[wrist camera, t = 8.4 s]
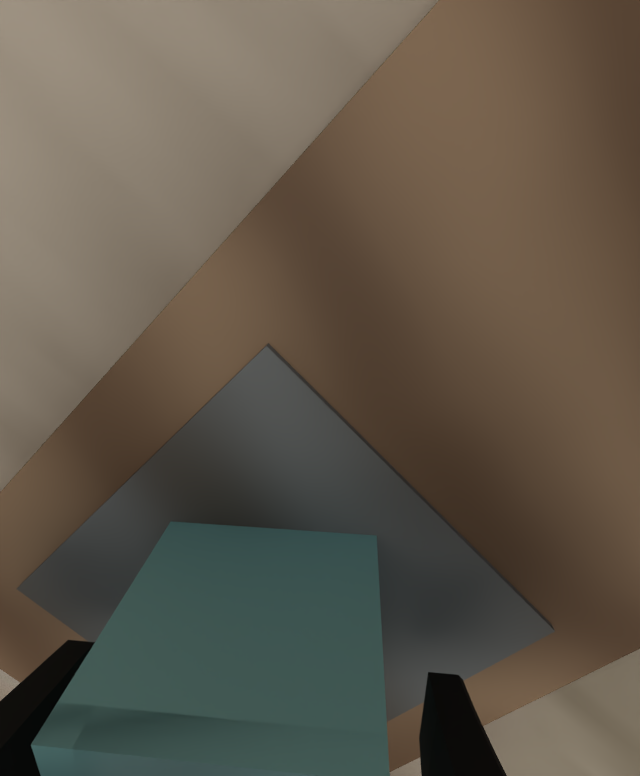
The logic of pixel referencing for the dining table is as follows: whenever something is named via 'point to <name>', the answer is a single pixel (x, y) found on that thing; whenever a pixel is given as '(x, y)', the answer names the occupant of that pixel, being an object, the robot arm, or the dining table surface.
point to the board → (397, 372)
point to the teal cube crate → (233, 663)
